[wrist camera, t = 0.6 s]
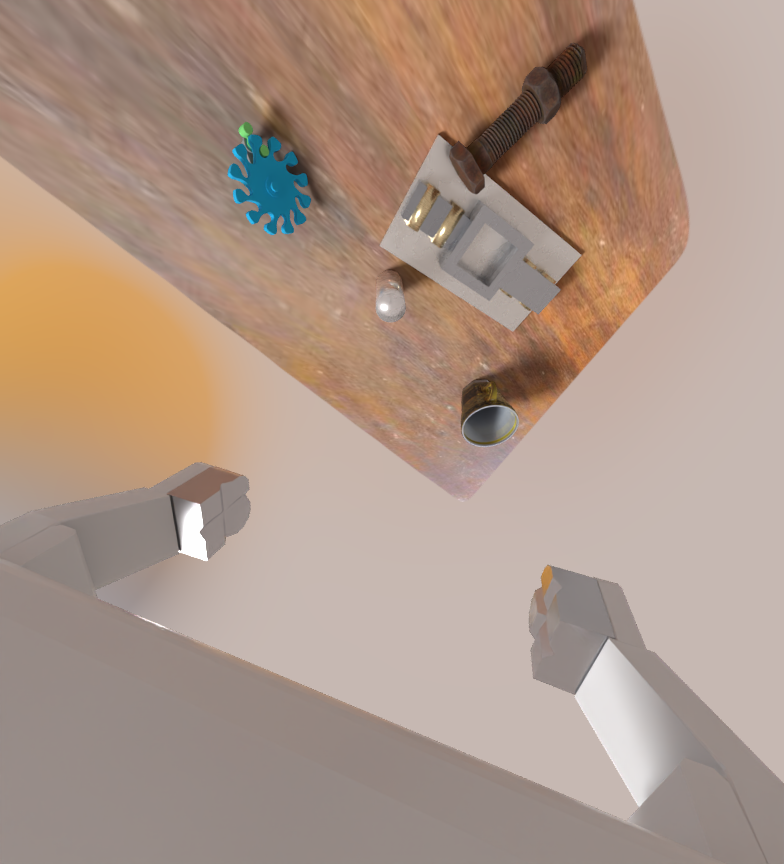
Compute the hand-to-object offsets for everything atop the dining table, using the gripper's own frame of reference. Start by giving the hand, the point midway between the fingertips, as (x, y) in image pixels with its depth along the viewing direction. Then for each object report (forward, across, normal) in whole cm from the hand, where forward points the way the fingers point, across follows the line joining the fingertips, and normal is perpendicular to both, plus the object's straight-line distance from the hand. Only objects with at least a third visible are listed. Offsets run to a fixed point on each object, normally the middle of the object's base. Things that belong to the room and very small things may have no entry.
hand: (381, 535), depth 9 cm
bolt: (+47, +2, -24) cm, 53 cm away
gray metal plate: (+51, +3, -11) cm, 52 cm away
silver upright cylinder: (+49, +15, -4) cm, 51 cm away
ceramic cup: (+61, -1, +12) cm, 62 cm away
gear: (+40, +29, -15) cm, 52 cm away
